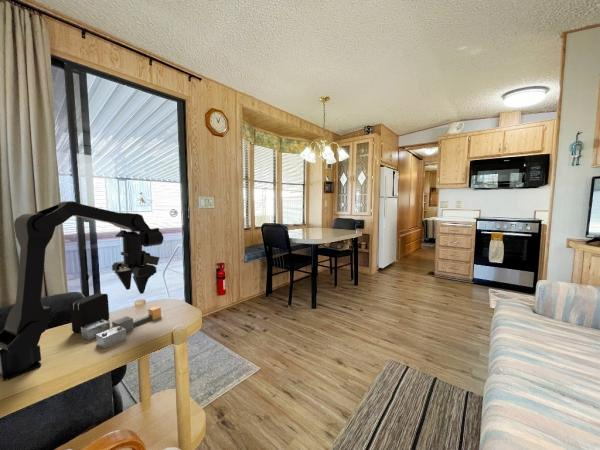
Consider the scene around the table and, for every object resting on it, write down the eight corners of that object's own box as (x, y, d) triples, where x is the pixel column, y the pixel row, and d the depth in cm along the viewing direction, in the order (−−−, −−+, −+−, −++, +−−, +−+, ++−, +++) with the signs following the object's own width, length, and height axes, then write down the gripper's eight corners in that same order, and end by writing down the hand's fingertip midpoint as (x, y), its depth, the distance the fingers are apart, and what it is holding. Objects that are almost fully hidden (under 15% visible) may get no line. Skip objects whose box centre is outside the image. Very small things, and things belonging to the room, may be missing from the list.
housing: (104, 348, 73) (103, 336, 73) (81, 336, 80) (80, 325, 80) (126, 338, 78) (125, 327, 78) (103, 328, 85) (102, 318, 85)
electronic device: (109, 319, 92) (107, 293, 91) (83, 333, 82) (81, 303, 81) (99, 319, 92) (97, 292, 92) (72, 333, 83) (69, 303, 82)
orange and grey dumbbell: (114, 336, 80) (113, 325, 80) (108, 333, 82) (107, 323, 82) (162, 316, 94) (161, 307, 94) (155, 314, 96) (155, 305, 95)
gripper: (170, 247, 92) (171, 289, 93) (142, 244, 102) (143, 282, 103) (137, 252, 83) (139, 298, 84) (110, 247, 92) (112, 289, 93)
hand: (134, 291), depth 91 cm, fingers open, 9 cm apart
